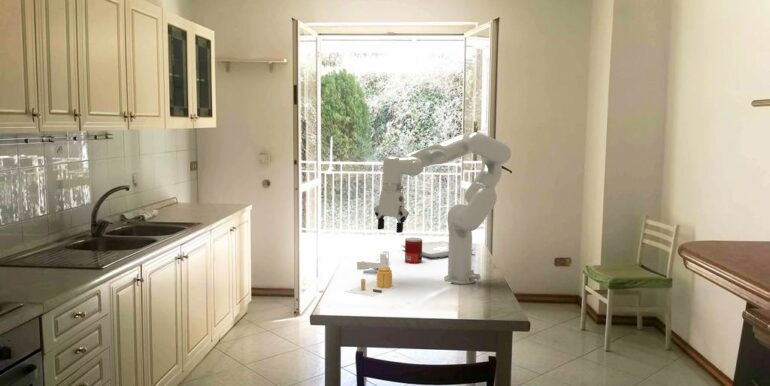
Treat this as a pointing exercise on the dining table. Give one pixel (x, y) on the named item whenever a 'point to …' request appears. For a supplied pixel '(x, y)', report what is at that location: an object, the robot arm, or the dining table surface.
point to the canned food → (413, 250)
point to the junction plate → (369, 288)
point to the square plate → (430, 252)
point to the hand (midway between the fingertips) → (390, 230)
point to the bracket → (374, 262)
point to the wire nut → (384, 277)
